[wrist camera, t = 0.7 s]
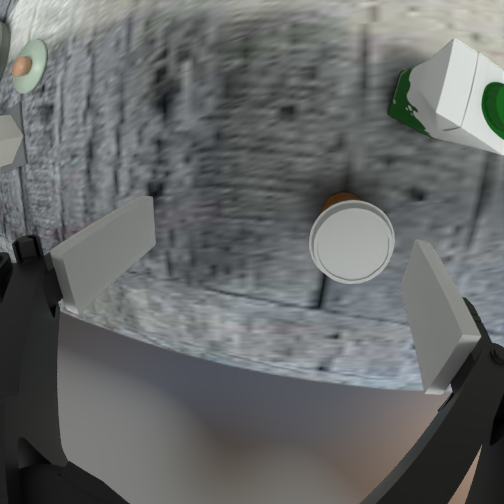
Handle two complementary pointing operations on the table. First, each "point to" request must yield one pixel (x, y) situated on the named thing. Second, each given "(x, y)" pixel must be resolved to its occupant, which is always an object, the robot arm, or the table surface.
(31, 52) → the plate
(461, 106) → the milk carton
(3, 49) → the hoop
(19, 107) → the mat
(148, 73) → the table surface
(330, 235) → the disposable coffee cup
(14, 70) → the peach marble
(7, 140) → the white upright block
